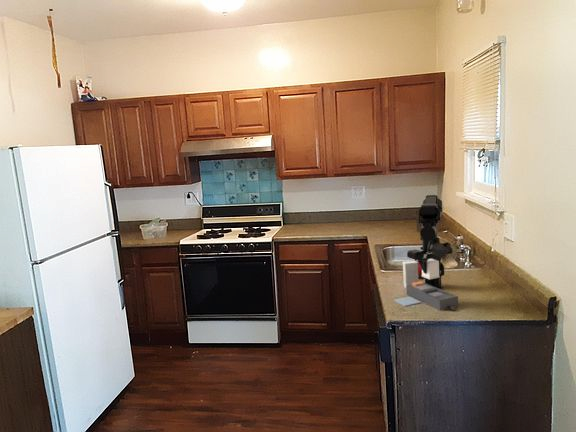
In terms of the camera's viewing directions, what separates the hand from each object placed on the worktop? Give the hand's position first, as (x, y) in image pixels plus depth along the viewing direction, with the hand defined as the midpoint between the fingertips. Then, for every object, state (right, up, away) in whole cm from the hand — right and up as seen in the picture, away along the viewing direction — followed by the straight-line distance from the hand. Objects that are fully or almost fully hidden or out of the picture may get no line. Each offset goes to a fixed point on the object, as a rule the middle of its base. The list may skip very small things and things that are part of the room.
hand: (430, 272), depth 183 cm
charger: (0, -2, 0) cm, 2 cm away
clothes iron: (+43, +12, +146) cm, 152 cm away
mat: (-8, -13, +4) cm, 16 cm away
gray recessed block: (+2, -13, +3) cm, 13 cm away
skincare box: (-2, -10, +23) cm, 25 cm away
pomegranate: (+6, -7, +38) cm, 39 cm away
